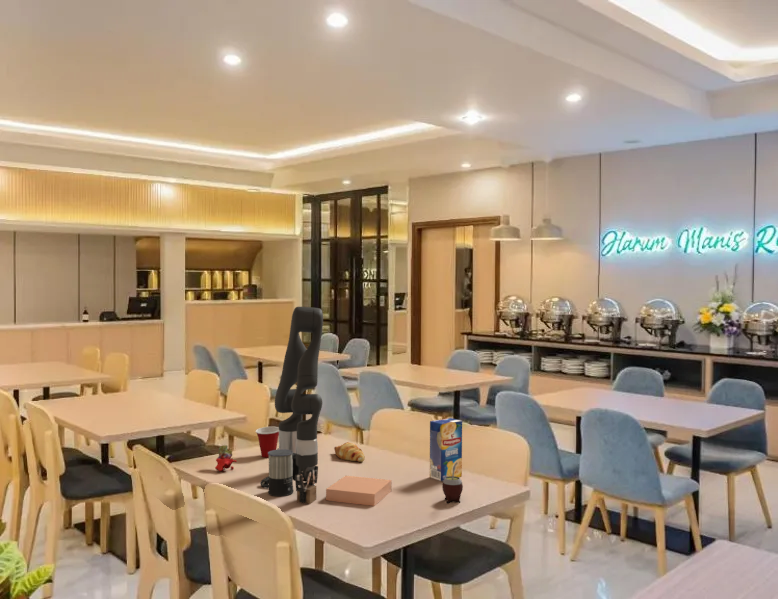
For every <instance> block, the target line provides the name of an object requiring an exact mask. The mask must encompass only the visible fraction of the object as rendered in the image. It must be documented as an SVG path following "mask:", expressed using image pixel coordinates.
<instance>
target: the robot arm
mask: <svg viewBox="0 0 778 599" xmlns="http://www.w3.org/2000/svg"><path fill="white" fill-rule="evenodd" d="M290 321H291V322H290V328H289V337H288V343H287V346H286V351H285V354H284V359H283V364H282V369H281V377H280V380H279V383H278V385H277V390H276V392H275V397H274V408H275V410H276V411H275V412H277V413H279V414H288V413H289V414H291V413H292V414H291V415H290V416H289V417H288V418H285V419H284V420H282V421H279V423H278V427H279V436H278V448H276V450H279V449H286V450H292V451H293V453H296V465H297V466H299V467H300V471H299V474H298V475H295V481H294V483H295V492H297V491H299V492H300V502H301V503H300V504H305V502H306V489H307V485H313V486H316V484H317V483H318V476H319V475H318V474H319V466H318V464H319V463H318V462H319V461H318V460H319V455H318V454H319V453H318V452H319V444H318V424H319V418H320V415H321V411H322V408H323V399H322V397H321V395H320V394H317V393H304V392H305V391H307V390H311V389H314V388H316V387H317V386H318V373H319V371H318V369H319V368H318V366H319V355H320V349H321V341H322V334H323V326H324V325H323V324H324V314H323V310H322V309H321V308H318V307H311V306H296V307H295V308H294V309H293V311H292V315H291V320H290ZM300 333H312V339H311V340H310V341H311V342H310V343H309V345H308V346H305V344H304V343H303V341H302V339H301V336H300ZM294 385H296V386H295V387H296V388H293V386H294ZM306 415H311V417H310V418H307V419H306V420H303V416H306ZM292 471H293V459H292ZM292 476H293V473H292Z"/></svg>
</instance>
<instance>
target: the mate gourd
mask: <svg viewBox="0 0 778 599" xmlns="http://www.w3.org/2000/svg"><path fill="white" fill-rule="evenodd" d="M456 464H457V462H456V463H455V465H454V467H453V474H452V476H449V477H446V478H445V479H444V481H442V485H441V486H442V487H441V488H442V492H443V494H444V500H445V501H446V504H450V503H457V504H460V503H461V501H460V499H461V496H462V493H463V488H464V485H463V481H462V479H461V477H455V476H454V471H455V466H456Z"/></svg>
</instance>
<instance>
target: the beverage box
mask: <svg viewBox="0 0 778 599" xmlns="http://www.w3.org/2000/svg"><path fill="white" fill-rule="evenodd" d="M456 462H457V464H456V466H455V471H454V476H455V477H459V478H461V477H463V420H461V419H456V418H452V417H449V418H448V417H447V418H444V419H443V418H441V419H437V420H436V419H435V420H430V421H429V478H431V479H434V480H437V481H439V482H443V481H444V479H445V478H446V477H449V476H452V474H453V467H454V465H455V463H456Z"/></svg>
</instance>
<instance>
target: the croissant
mask: <svg viewBox="0 0 778 599" xmlns="http://www.w3.org/2000/svg"><path fill="white" fill-rule="evenodd" d="M333 449H334V454H335V455H336V457H337V458H339V459H341V460H344V461H351V462H357V463H358V462H360V463H361V462H364V461H365V454H364V452H363V451H362V449H361V448H359V447H358V445H357V444H355V443H352V442H349V441H348V442H345V443H342V444H341V445H338V446H334V448H333Z"/></svg>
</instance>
